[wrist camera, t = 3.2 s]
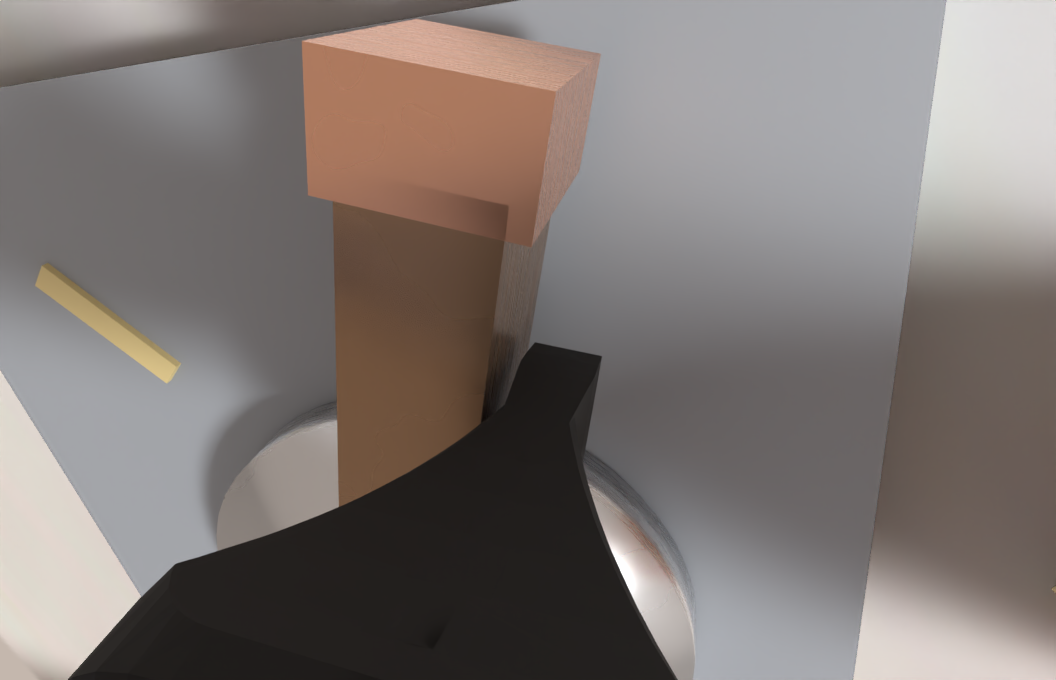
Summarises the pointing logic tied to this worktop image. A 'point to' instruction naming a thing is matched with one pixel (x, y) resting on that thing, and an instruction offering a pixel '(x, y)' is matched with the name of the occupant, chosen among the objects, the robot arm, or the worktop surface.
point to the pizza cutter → (441, 278)
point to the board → (563, 296)
